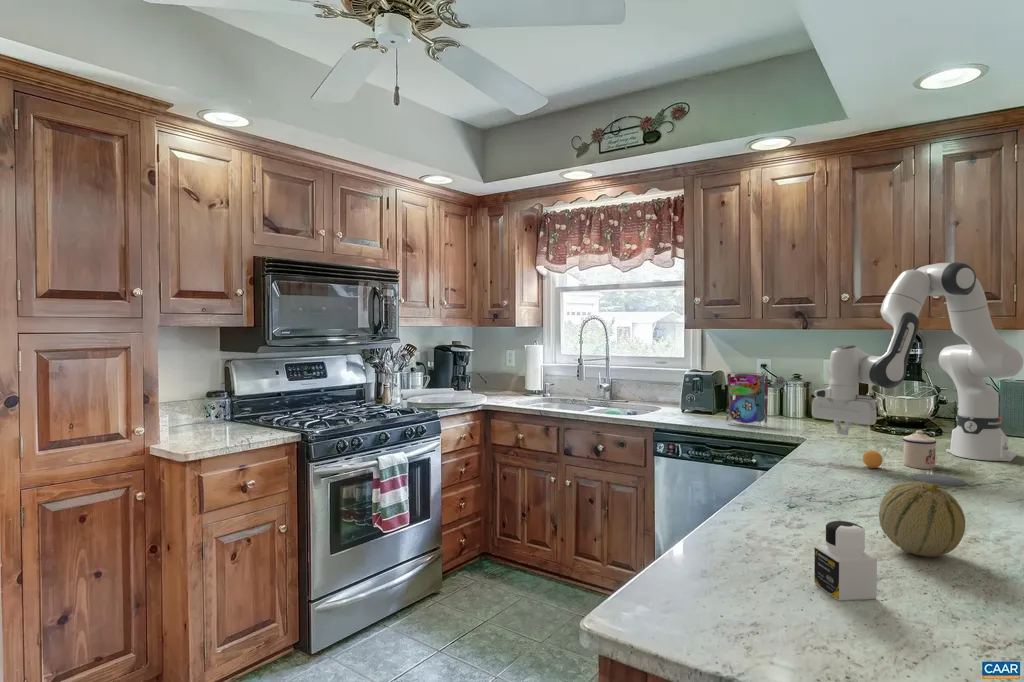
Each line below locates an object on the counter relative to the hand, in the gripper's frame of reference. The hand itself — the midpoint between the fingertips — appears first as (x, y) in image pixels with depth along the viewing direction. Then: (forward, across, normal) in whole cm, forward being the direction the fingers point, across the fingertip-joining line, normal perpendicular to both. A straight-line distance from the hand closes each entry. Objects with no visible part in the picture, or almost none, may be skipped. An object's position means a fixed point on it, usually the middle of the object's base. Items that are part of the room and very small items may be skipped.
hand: (842, 434), depth 203 cm
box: (+9, +59, -37) cm, 70 cm away
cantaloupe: (+10, -52, +66) cm, 85 cm away
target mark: (+9, -29, 0) cm, 30 cm away
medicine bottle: (+11, -53, +96) cm, 111 cm away
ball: (+7, -10, 0) cm, 12 cm away
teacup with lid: (+9, -17, -17) cm, 25 cm away
